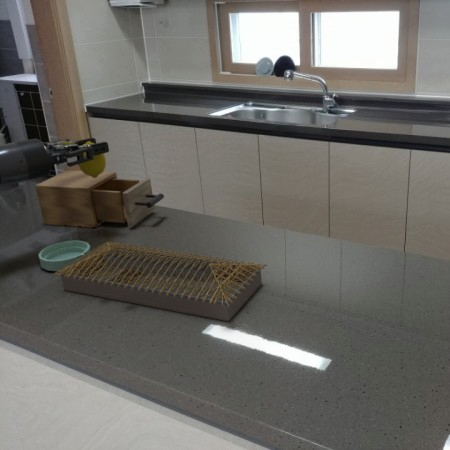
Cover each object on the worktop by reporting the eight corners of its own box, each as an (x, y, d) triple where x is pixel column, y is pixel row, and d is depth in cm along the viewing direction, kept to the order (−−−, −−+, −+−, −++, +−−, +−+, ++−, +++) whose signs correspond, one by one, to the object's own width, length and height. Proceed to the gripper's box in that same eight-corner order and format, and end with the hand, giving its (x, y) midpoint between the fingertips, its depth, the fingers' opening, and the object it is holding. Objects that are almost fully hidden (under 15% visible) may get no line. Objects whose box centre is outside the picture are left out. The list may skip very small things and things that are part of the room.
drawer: (170, 210, 128) (166, 179, 125) (149, 227, 119) (144, 194, 116) (109, 206, 132) (103, 176, 129) (83, 222, 123) (77, 190, 120)
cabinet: (122, 209, 132) (116, 172, 129) (95, 228, 122) (87, 188, 118) (74, 206, 136) (67, 170, 132) (44, 224, 125) (35, 185, 122)
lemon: (114, 176, 115) (108, 139, 112) (93, 183, 111) (86, 146, 108) (96, 172, 118) (90, 137, 115) (75, 179, 114) (68, 143, 111)
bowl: (30, 270, 104) (27, 259, 103) (61, 249, 112) (59, 238, 111) (73, 274, 101) (70, 262, 100) (101, 253, 110) (99, 242, 109)
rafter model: (56, 291, 96) (49, 260, 93) (109, 256, 108) (104, 228, 106) (230, 325, 84) (227, 291, 81) (268, 281, 96) (266, 251, 94)
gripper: (28, 149, 96) (115, 131, 108) (-1, 137, 106) (82, 122, 117) (37, 188, 99) (121, 167, 111) (9, 173, 109) (89, 155, 120)
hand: (101, 144), depth 114 cm, fingers closed on lemon, 5 cm apart
